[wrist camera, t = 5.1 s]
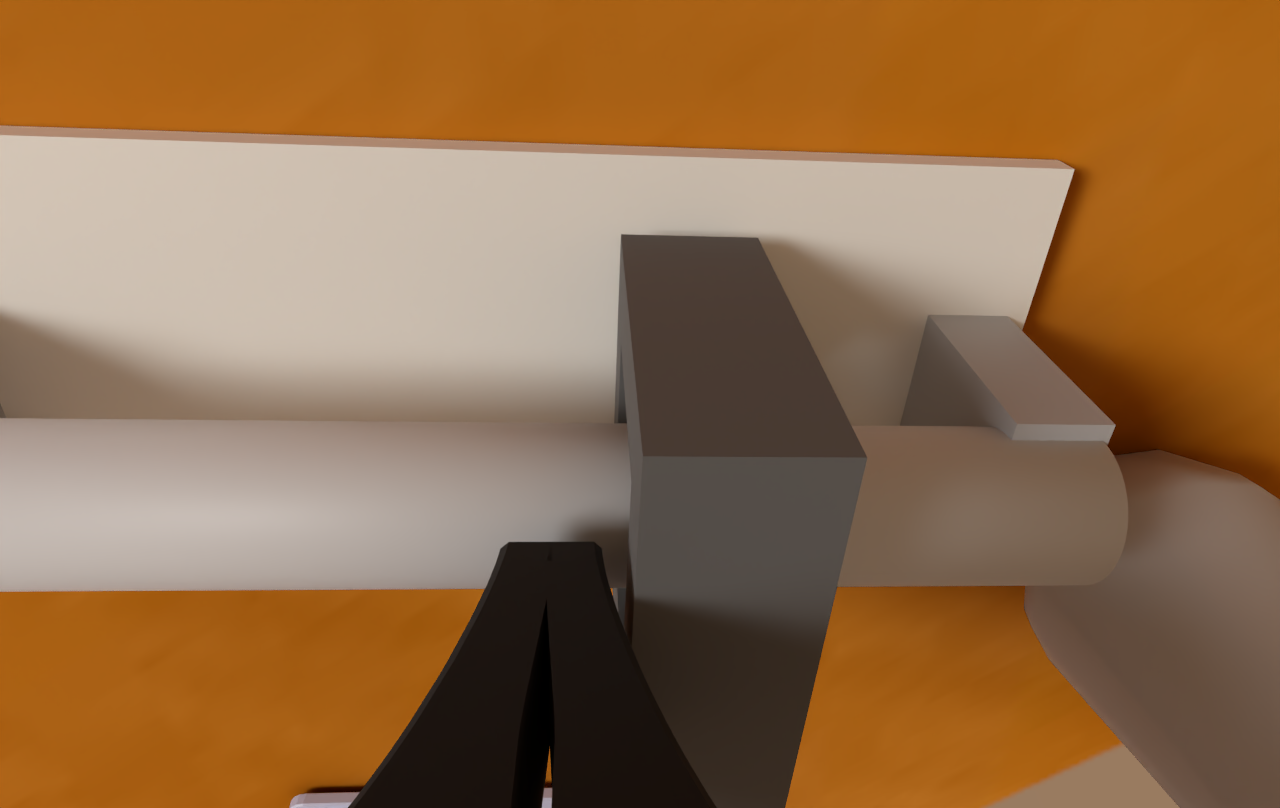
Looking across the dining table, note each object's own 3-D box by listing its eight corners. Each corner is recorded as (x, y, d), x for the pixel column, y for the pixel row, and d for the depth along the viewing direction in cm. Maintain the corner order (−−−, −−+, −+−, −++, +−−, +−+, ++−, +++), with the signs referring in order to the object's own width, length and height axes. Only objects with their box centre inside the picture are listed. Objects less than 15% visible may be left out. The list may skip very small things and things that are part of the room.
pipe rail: (1058, 160, 15) (1294, 292, 10) (941, 533, 20) (1062, 751, 15) (-220, 118, 14) (-698, 251, 8) (-15, 534, 18) (-244, 778, 13)
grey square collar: (758, 237, 14) (868, 457, 9) (720, 528, 18) (782, 818, 12) (620, 234, 14) (642, 456, 9) (610, 527, 18) (621, 822, 12)
